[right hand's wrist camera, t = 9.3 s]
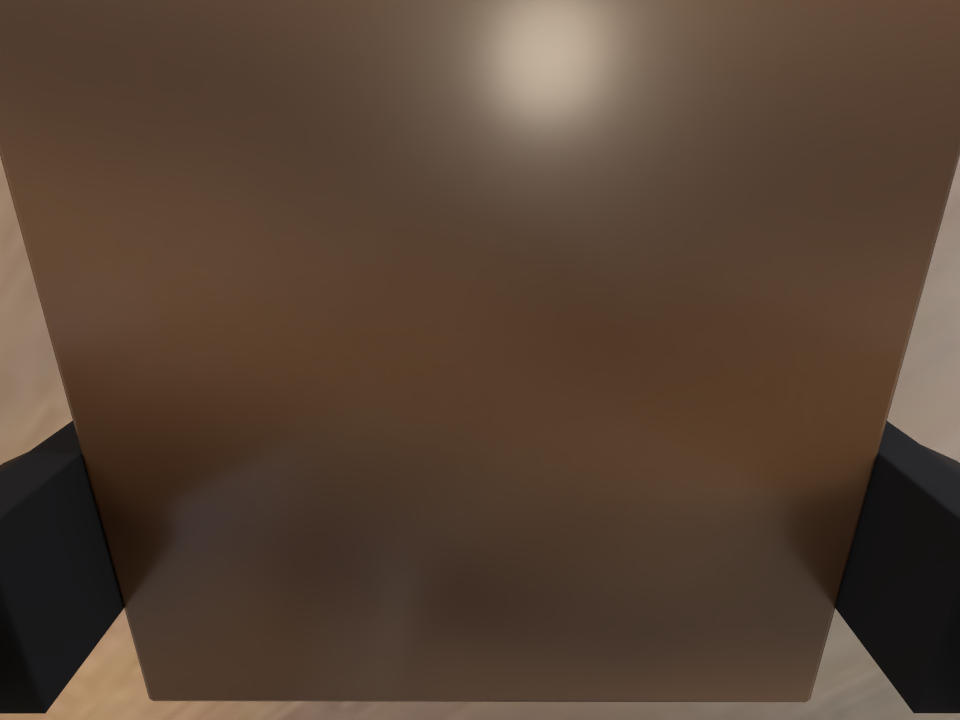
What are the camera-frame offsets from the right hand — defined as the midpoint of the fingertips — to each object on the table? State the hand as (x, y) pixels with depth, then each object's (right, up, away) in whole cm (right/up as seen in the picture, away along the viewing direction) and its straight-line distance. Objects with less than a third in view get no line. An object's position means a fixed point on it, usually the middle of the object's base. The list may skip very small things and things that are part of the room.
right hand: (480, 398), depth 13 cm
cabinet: (0, +7, +1) cm, 7 cm away
